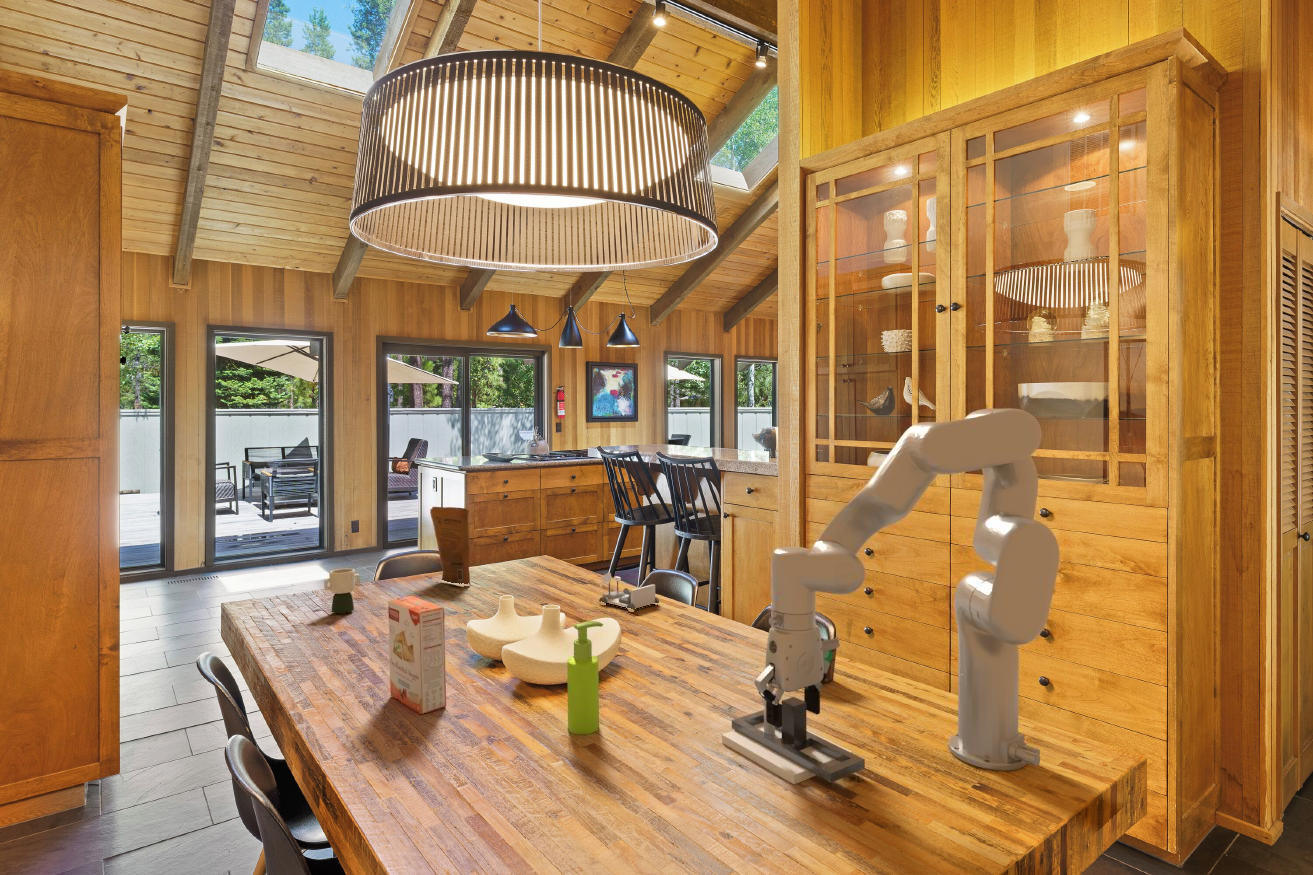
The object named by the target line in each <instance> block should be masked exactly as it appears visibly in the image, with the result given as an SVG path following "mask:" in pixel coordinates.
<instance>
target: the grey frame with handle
mask: <svg viewBox="0 0 1313 875" xmlns="http://www.w3.org/2000/svg"><path fill="white" fill-rule="evenodd" d="M781 704H782V726H781V727H780V728H777V727H775V729H777V730H779V731H781V732H782V738H779V739H776V738H774V737H772V736H771V735H769V734H767V733H765V732H763V731H761V730H759V729H757V728H755V727H753V726H754V725H757V724H760V723H763V722H764V709H763V710H760V711H757V712H754V713H750V714H746V715H744V716H740V717H738V718H735V719H731V729H732V730H733V731H734V730H736V731H738V732H739V733H741V734H743V735H745V736H747V737H748V738H750V739H752V740H754V741H756V742H758V743H759V744H761V745H763V746H765V747H767V748H768V749H770V750H772V751H774V752H776V753H778V754H779V755H781V756H783V757H785V758H787V759H788V760H790V761H792V762H794V763H796V764H798V765H799V766H801V767H803V768H805V769H807V770H808V771H810V772H812V773H814V774H816V776H818V777H819V778H821V779H823V780H825V781H827V782H828V783H831V784H832V783H834V782H836V781H839V780H841V779H843V778H846V777H848V776H851V775H852V774H855V773H857V772H860V771H862V770H865V769H866V767H865V766H866V763H865V762H866V760H865V758H863V757H860V756H858V755H857V754H854V753H853V752H852V753H851V752H849V751H847V750H845V749H842V748H840V747H838V746H836V745H834V744H832V743H830V742H828V741H826V740H824V739H822V738H820V737H818V736H816V735H814V734H812V733H810V732H808V731H806V730H807V710H806V702H804V700H801V699H800V698H797V697H795V696H792V697H789V698H786V699H783V700H781ZM808 747H812V748H814V749H816V750H818V751H820V752H822V753H824V754H826V755H828V756H830V757H832V758H834V759H836V760H838V761H840V762H841V763H839V764H836V765H834V766H831V767H829V766H828V765H826V764H824V763H822V762H820V761H818V760H816V759H814V758H812V757H810V756H809V755H807V754H805V753H803V752H801V751H800V750H803V749H805V748H808Z"/></svg>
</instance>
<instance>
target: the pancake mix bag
mask: <svg viewBox="0 0 1313 875" xmlns="http://www.w3.org/2000/svg"><path fill="white" fill-rule="evenodd" d="M429 511H430V512H429V513H430V517H431V521H432V525H433V530H434V535H435V539H436V544H437V549H438V553H439V554H438V555H439V561H440V566H441V571H442V576H441V580H444V581H447V582H451V583H459V584H460V583H461V584H462V583H464V584H468V583H469V584H470V585H471V581H470V580H471V577H470V550H471V549H470V548H471V546H470V529H469V528H470V525H469V523H470V521H469V520H470V518H469V516H470V515H469V514H470V510H469V509H467V508H463V507H455V506H453V507H452V506H448V507H447V506H444V507H443V506H432V508H431V509H430V510H429Z"/></svg>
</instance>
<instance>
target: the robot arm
mask: <svg viewBox="0 0 1313 875" xmlns="http://www.w3.org/2000/svg"><path fill="white" fill-rule="evenodd" d="M1042 434H1043V431H1042V429H1041V424H1040V423H1039V421H1038V420H1037V419H1036V417H1035V416H1034V415H1032V414H1031V413H1030V412H1027V411H1026V410H1024V409H1019V408H983V409H977V410H975V411H972V412H970V413H969V414H967V416H965V417H964V418H963V419H957V420H950V421H941V422H940V421H924V422H922V421H921V422H917V423H915V424H913V425H911V426H910V427H909V428H907V429H906V430H905V431H904V432H903V434H902V435H901V436H900V438H899V439H898V440H897V442H896V443H895V445H894V446H893V447H892V449H891V450H890V451H889V453H888V454H887V456H885V459H884V460H883V461H882V463H881V464H880V465H879V467H878V468H877V469H876V471H875V473H873V475H872V476H871V478H870V479H869V480H868V482H867V483H866V485H865V486H864V487H863V488H862V489H861V490H860V491H859V492H858V493H857V494H855V495H854V496H853V498H852V499H851V500H850V501H849V502H847V503H846V505H845V506H843V507H842V508H841V509H840V510H839V511H838V512H837V513H836V514H835V515H834V516H833V517H832V518H831V520H830V521H829V523H828V524H827V525H826V527H825V528H824V529H823V530H822V532H821V533H820V534H819V537H818V538H817V539H816V541H815V542H814V543H813V545H812V547H811V549H809V548H806V547H803V546H802V547H801V546H781V547H778V548H775V549H774V550H773V551H772V553H771V555H770V556H771V557H770V558H771V559H770V567H771V568H770V570H771V571H770V572H771V575H770V582H771V583H770V584H771V586H770V588H771V589H770V590H771V591H770V593H771V594H770V595H771V597H770V599H771V601H770V602H771V604H770V605H771V606H770V607H771V613H770V615H771V616H770V617H769V618H768V624H769V625H770V626H771V627H770V628H769V630H768V636H767V643H766V649H765V651H766V652H765V667H764V668H765V669H764V670H763V671H762V672H761V673H760V674H759V675H758V676H757V678H756V679H755V680H754V685H755V687H756V690H757V691H758V694H759V695H760V696H761V698H762V697H763V699H764V700H765V701H766V721H767V723H769V724H771V725H773V726H775V727H777V728H780V727H781V726H782V703H780V701H781V700H782V699H781V698H782V697H783V695H784V693H790V692H795V691H798V690H801V689H804V693H803V694H804V695H803V696H804V698H803V699H804V700H803V701H804V702H806V711H808V712H810V713H813V714H814V715H819V714H821V691H823V688H824V686H823V685H822V684H823V682H824V681H825V679H826V673H827V671H828V668H829V665H830V663H829V662H828V661H826V660H824V659H823V651H822V642H821V638H822V637H821V632H820V628H819V625H817V624H816V592H819V593H827V594H831V595H832V594H834V595H849V594H851V593H854V592H856V591H857V590H858V589H860V588H861V587H862V585H863V584H864V582H865V579H866V569H865V566H864V563H863V562H862V560H861V559H860V558H859V557H858V555H857V554H858V553H859V552H860V550H861V548H862V547H863V546H864V545H865V544H866V543H867V542H868V541H869V539H870V538H871V537H873V535H875V534H877V533H878V532H880V531H881V530H883V529H884V528H886V527H889V526H891V525H894V524H896V523H898V522H900V521H902V520H903V519H905V518H906V517H907V516H908V515H909V514H910V513H911V512H912V510H913V509H914V507H915V506H916V505H917V503H918V502H919V500H920V499H921V498H922V497H923V495H924V494H925V492H926V491H927V489H928V488H929V486H930V485H931V484H932V482H933V481H934V480H935V478H936V477H937V475H955V474H960V473H966V472H967V473H968V472H972V471H973V472H974V471H979V470H981V471H982V476H983V477H982V478H983V480H982V481H983V482H982V483H983V486H982V494H981V498H980V503H979V508H978V512H977V513H978V514H977V517H976V524H975V526H974V527H975V528H974V531H973V538H972V546H973V550H974V552H975V553H976V555H977V556H978V557H979V558H980V559H981V560H982V561H983V562H986V563H987V564H990V565H991V566H994V567H995V569H994V570H995V571H994V572H992V571H991V572H990V571H984V570H979V571H973V572H970V573H968V574H966V575H965V576H964V577H962V579H961V580H959V582H958V584H957V585H956V588H955V591H954V596H953V597H954V598H953V608H954V616H955V622H956V629H957V639H958V641H957V642H958V643H957V644H958V664H957V665H958V666H957V667H958V669H957V670H958V671H957V672H958V674H957V675H958V676H957V677H958V682H957V683H958V687H957V688H958V690H957V693H958V694H957V696H958V697H957V698H958V700H957V701H958V702H957V703H958V706H957V707H958V708H957V709H958V710H957V712H958V713H957V718H958V719H957V733H955V734H953V735H951V737H949V739H948V746H947V747H948V749H949V752H950V753H952V755H954V757H956V758H957V759H959V760H961V761H962V762H965V763H967V764H969V765H972V766H976V767H978V768H982V769H986V770H992V771H993V770H994V771H1014V770H1015V771H1016V770H1019V769H1021V768H1024V767H1025V766H1027V764H1029V765H1032V766H1034V767H1038V766H1039V765H1040V762H1041V750H1040V749H1039V748H1037V747H1034V746H1030V745H1028V744H1027V743H1026V742H1025V741H1026V740H1025V733H1022V732H1019V701H1020V700H1019V693H1020V692H1019V690H1020V687H1019V686H1020V685H1019V684H1020V682H1019V681H1020V680H1019V679H1020V676H1019V675H1020V674H1019V672H1020V655H1019V654H1020V653H1019V646H1022V645H1027V644H1029V643H1031V642H1033V641H1035V639H1037V638H1038V637H1039V635H1041V633H1042V632H1043V630H1044V629H1045V626H1046V624H1047V621H1048V618H1049V614H1050V611H1051V606H1052V600H1053V595H1054V590H1055V586H1056V581H1057V576H1058V571H1059V566H1060V558H1061V557H1060V556H1061V555H1060V554H1061V553H1060V547H1059V542H1058V540H1057V538H1056V535H1055V534H1054V532H1053V531H1052V530H1051V529H1050V528H1049V527H1048V526H1047V525H1046V524H1044V523H1043V522H1040V521H1038V520H1036V519H1035V514H1036V506H1037V501H1038V500H1037V499H1038V494H1039V492H1038V490H1039V475H1038V470H1037V466H1036V464H1035V461H1034V459H1033V457H1032V455H1033V454H1034V453H1035V452H1036V450H1038V448H1039V446H1040V445H1041V441H1042V438H1043V435H1042ZM775 689H776V691H775ZM774 691H775V692H774ZM773 692H774V693H775V695H773V694H772V693H773Z"/></svg>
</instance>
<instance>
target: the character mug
mask: <svg viewBox="0 0 1313 875" xmlns="http://www.w3.org/2000/svg"><path fill="white" fill-rule="evenodd" d="M360 579H361V575H360V574H359V573H356V569H354V568H337V569H332V570H330V571H329V578H326V579H324V581H323V586H324V587H323V588H324V591H329V592H331V593H332V594H334V595H333V596H332V603H331V613H333V614H334V613H335V614H337V613H339V614H347V613H346V612H348V613H351V612H353V611H354V610H355V606H354V601H353V595H352V592H353V591H354V590H355V588H356V585H357V586H358V585H360V584H361V583H360V582H361V580H360ZM328 583H329V584H328ZM328 585H329V586H328ZM350 611H351V612H350Z"/></svg>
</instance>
